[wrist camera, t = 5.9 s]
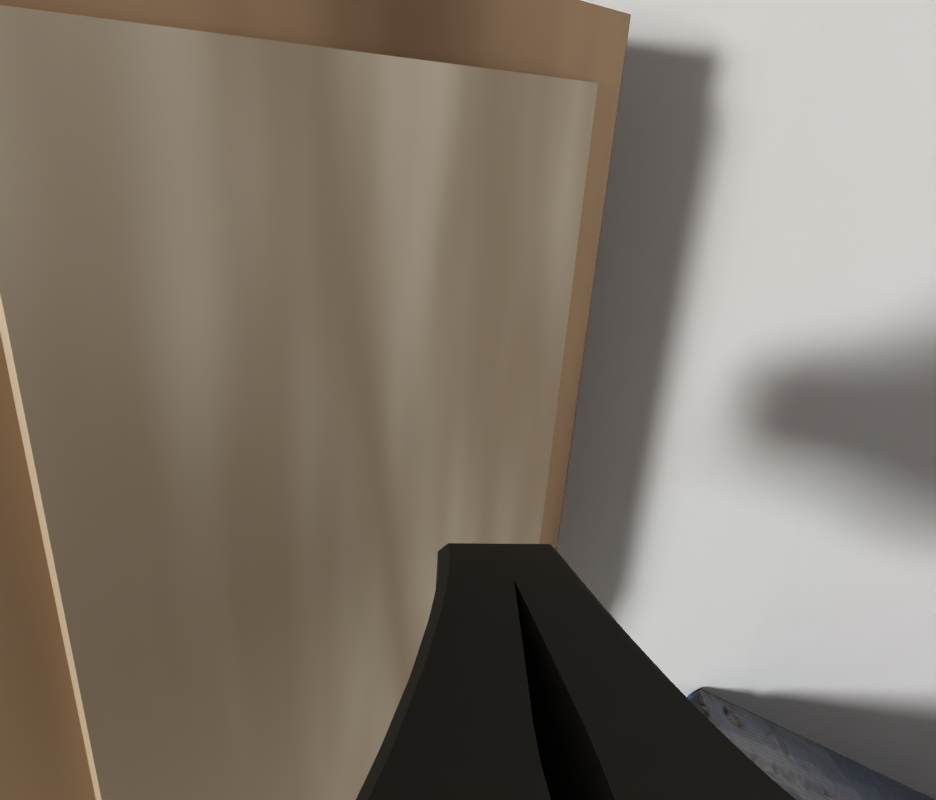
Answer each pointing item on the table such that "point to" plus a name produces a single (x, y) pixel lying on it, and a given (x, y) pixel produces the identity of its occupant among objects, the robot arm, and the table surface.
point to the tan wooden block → (274, 364)
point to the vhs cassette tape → (798, 758)
